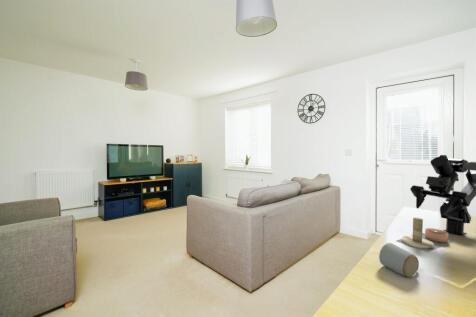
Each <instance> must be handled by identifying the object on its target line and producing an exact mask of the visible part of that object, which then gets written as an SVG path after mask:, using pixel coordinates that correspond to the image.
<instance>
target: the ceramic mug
mask: <svg viewBox="0 0 476 317" xmlns="http://www.w3.org/2000/svg"><path fill="white" fill-rule="evenodd" d="M378 258H379V262H380V264H381V265H382V266H385V267H386V268H388V269H390V270H392V271H395V273H397V274H399V275H401V276H404V277H408V278H409V277H410V278H411V277H412V276H414V275H416V273H417V272H418V271H419V269H420V268H419V267H420V262H419V259H418V257H417V256H416V255H415V254H413V253H412V252H410V251H408V250H406V249H405V248H402V247H400V246H398V245H396V244H394V243H392V242H387V243H385V244H384V245H383V246H382V247H381V249H380V251H379V255H378Z"/></svg>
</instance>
